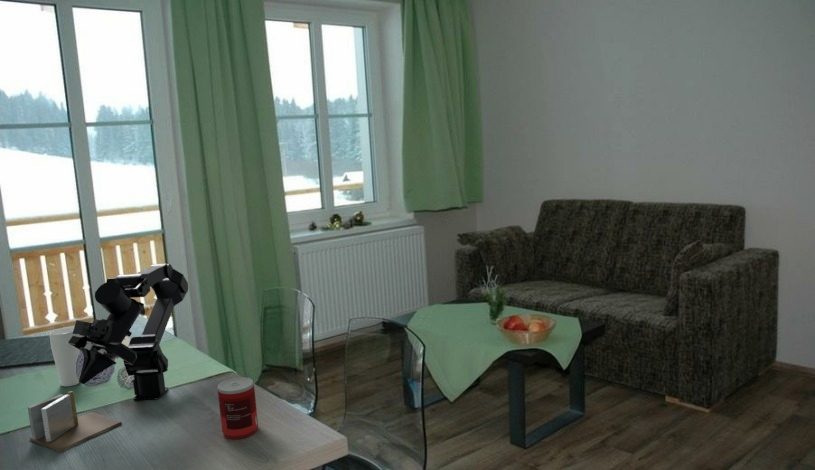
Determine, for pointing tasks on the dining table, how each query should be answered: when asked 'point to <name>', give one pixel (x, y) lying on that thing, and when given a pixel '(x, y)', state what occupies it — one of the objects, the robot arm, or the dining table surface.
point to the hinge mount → (80, 432)
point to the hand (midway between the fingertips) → (81, 383)
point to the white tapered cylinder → (64, 355)
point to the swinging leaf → (57, 418)
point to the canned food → (238, 407)
